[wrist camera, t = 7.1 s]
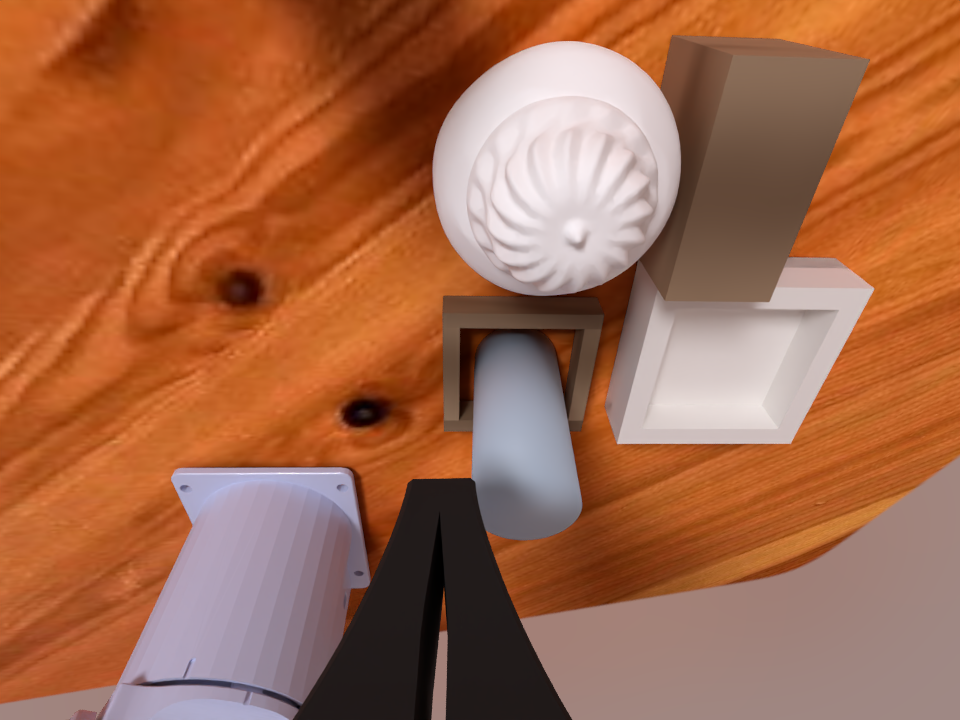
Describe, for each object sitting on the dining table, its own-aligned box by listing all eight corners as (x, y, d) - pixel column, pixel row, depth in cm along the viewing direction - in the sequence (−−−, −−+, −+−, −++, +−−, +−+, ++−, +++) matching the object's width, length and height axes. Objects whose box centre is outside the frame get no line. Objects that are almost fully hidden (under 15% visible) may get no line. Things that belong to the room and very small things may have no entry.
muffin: (408, 197, 17) (380, 311, 11) (488, -18, 14) (505, -12, 8) (576, 268, 18) (625, 398, 13) (684, 90, 15) (813, 159, 10)
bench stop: (714, 242, 18) (769, 302, 15) (628, 241, 18) (664, 300, 15) (778, 39, 14) (870, 59, 11) (672, 35, 14) (733, 55, 11)
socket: (575, 411, 23) (580, 431, 22) (444, 411, 22) (444, 431, 21) (597, 297, 19) (604, 314, 18) (443, 295, 19) (442, 313, 18)
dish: (764, 406, 23) (790, 443, 21) (604, 406, 22) (617, 443, 21) (834, 258, 19) (874, 288, 17) (639, 255, 18) (658, 285, 17)
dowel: (555, 388, 22) (579, 538, 16) (477, 391, 22) (474, 541, 16) (557, 323, 20) (585, 469, 14) (472, 327, 20) (467, 473, 14)
